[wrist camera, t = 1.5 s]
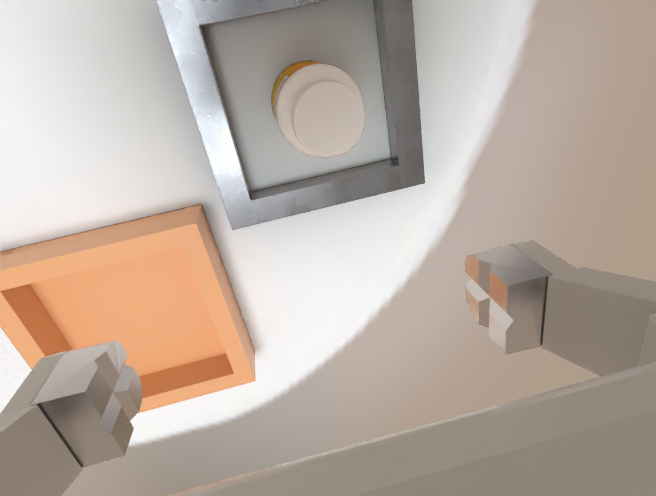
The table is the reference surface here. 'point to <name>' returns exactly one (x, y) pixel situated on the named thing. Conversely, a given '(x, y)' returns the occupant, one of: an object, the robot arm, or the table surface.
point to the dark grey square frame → (318, 192)
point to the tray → (133, 303)
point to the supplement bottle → (318, 108)
